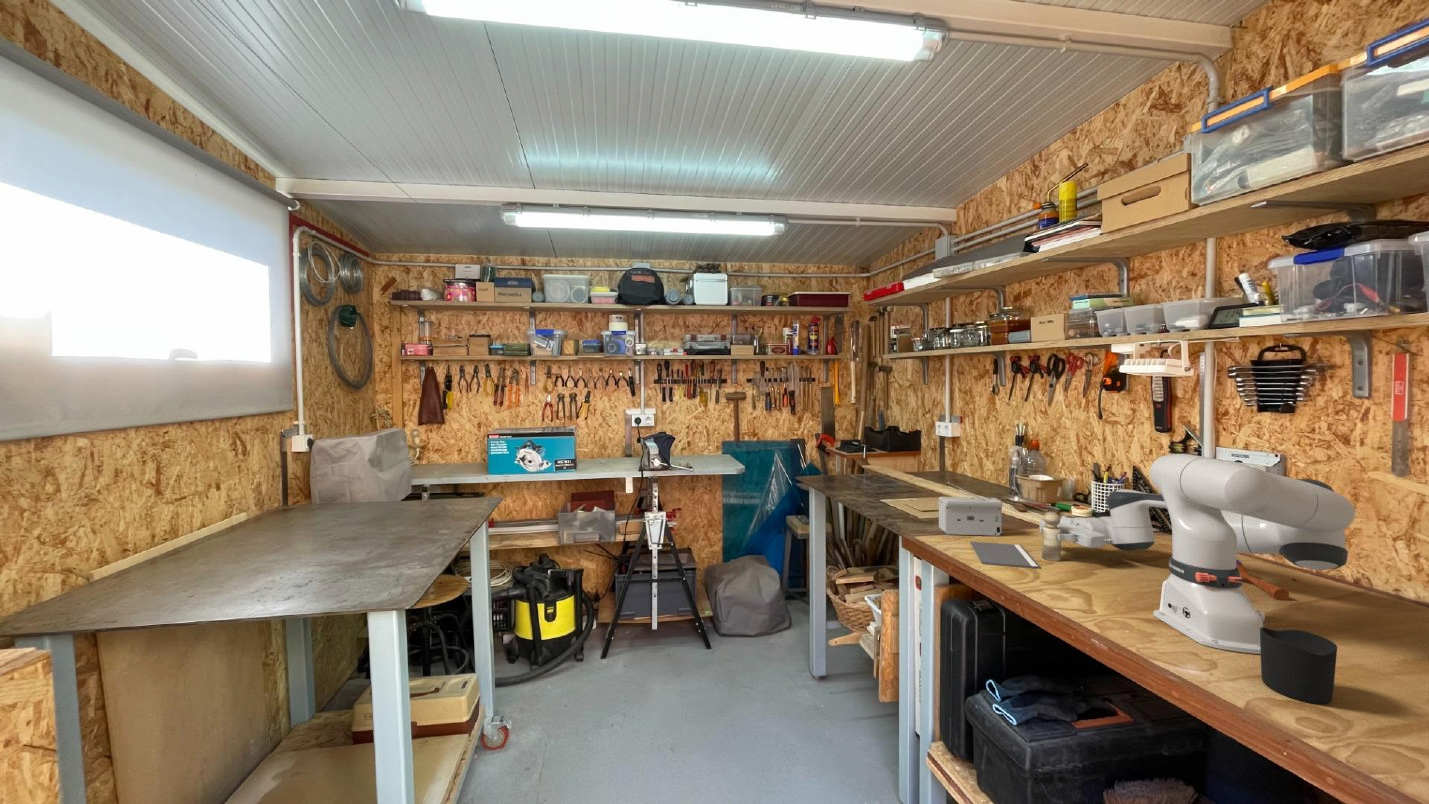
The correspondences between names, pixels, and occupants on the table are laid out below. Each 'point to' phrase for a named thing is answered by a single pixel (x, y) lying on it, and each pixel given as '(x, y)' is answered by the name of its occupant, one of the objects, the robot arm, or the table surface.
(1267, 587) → the kendama
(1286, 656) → the pen holder
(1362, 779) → the table surface
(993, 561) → the mat
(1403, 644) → the table surface
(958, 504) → the stereo radio cassette player
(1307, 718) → the table surface
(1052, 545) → the skittle
